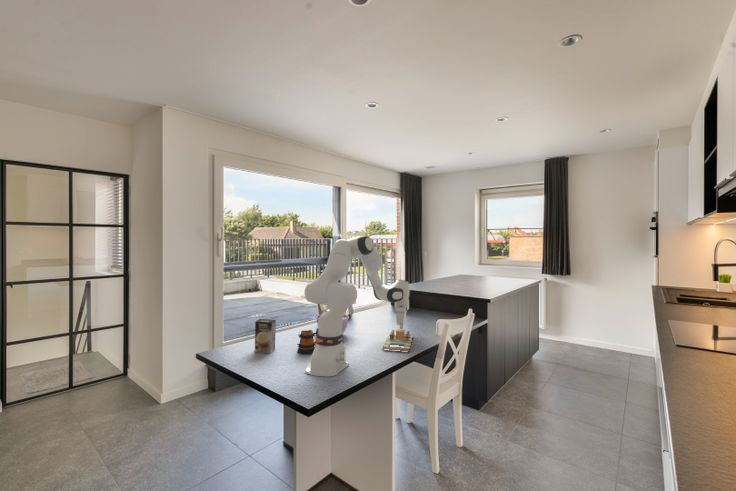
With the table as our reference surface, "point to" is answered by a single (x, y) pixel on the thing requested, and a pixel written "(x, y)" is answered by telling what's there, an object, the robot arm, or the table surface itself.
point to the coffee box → (265, 335)
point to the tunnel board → (398, 341)
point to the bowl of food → (344, 321)
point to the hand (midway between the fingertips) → (401, 328)
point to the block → (400, 333)
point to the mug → (307, 342)
